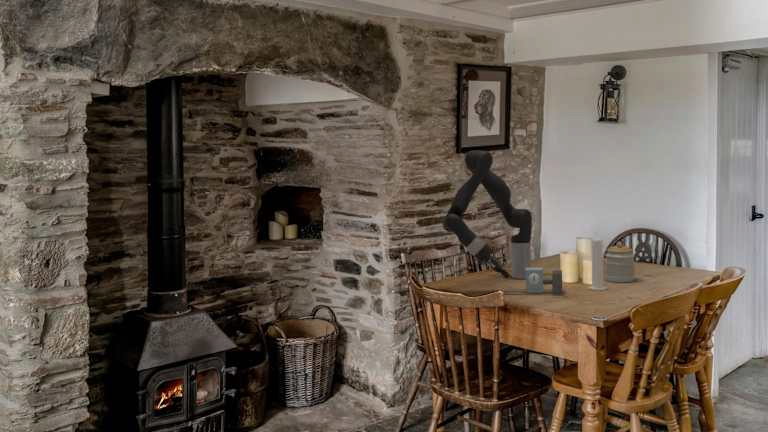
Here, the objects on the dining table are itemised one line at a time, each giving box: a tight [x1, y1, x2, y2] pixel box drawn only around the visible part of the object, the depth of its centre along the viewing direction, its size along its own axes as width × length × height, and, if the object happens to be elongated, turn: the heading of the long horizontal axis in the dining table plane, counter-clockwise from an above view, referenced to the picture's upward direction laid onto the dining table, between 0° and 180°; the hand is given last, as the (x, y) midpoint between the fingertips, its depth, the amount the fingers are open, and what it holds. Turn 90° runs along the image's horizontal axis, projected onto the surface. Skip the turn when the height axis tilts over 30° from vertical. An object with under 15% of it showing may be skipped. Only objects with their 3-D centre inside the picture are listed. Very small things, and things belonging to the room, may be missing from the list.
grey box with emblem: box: [525, 267, 552, 293], centre depth 308 cm, size 6×11×10 cm, turn 76°
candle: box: [588, 231, 607, 291], centre depth 314 cm, size 7×7×25 cm
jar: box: [604, 241, 636, 283], centre depth 331 cm, size 13×13×18 cm
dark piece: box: [498, 269, 566, 297], centre depth 309 cm, size 12×28×10 cm, turn 76°
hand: (508, 277), depth 311 cm, fingers closed
